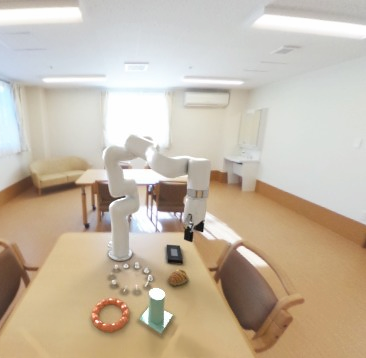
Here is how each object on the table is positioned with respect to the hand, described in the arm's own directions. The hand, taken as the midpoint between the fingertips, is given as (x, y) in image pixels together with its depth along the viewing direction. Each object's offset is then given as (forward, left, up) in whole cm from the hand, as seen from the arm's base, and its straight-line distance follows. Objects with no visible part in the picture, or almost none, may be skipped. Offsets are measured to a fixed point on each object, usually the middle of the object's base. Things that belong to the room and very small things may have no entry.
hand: (193, 235), depth 80 cm
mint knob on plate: (-6, -17, -28) cm, 33 cm away
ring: (-20, -26, -27) cm, 42 cm away
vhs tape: (-18, +24, -28) cm, 41 cm away
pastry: (-8, +7, -28) cm, 30 cm away
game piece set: (-26, -5, -28) cm, 38 cm away
